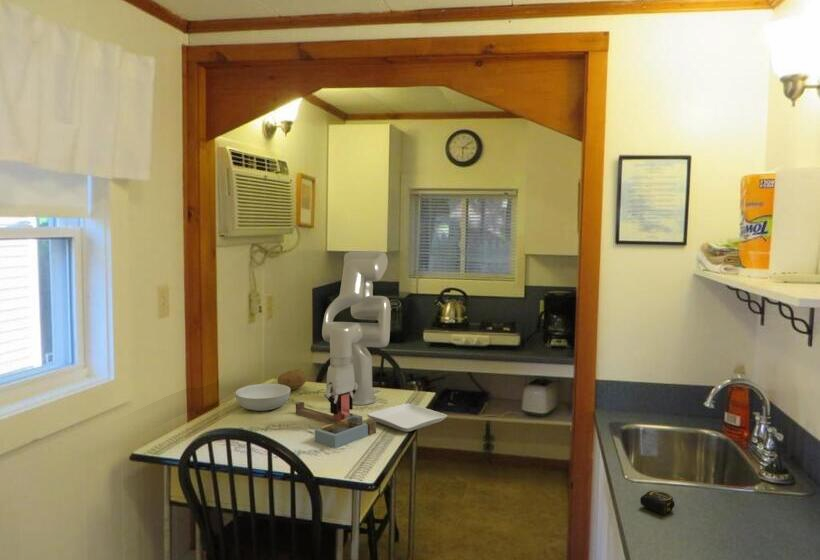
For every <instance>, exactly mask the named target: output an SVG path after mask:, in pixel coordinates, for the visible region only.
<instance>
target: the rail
mask: <svg viewBox="0 0 820 560" xmlns="http://www.w3.org/2000/svg"><path fill="white" fill-rule="evenodd" d="M295 415H299V416H301V417H306V418H309V419H312V420H316V421H319V422H323V423H326V424H328V425H329V424H332V423H335V422H338V420H335V419H333V414H330V413H329V414H328V413H326V412H323V411H318V410H316V409H315V410H314V409H310V408H308V407H305V402H304V401H299V402H296V403H295ZM362 424H363V422H362V423H361V424H358V425H356V424H353V423H349V429H351V428H354V427H356V426H359V425H362ZM366 424H368V436H372V435H375V434H376V433H377V422H376V421H374V420H370V421H368V422H366Z"/></svg>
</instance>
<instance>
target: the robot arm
mask: <svg viewBox="0 0 820 560" xmlns="http://www.w3.org/2000/svg"><path fill="white" fill-rule="evenodd" d="M343 262H344V265H343V270H342V276H341V282H340V284H341V285H340V288H339V289H340V290H339V295H338V296H337V297H336V298H335V299H334V300H333V301H332V302H330V304H329V305H328V306H327V308H326V309H325V310H326V311H325V313H324V317H323V322H322V328H321V336H322V338H323V340H324V342H327V343H329V352H330V353H329V363H330V364H329V365H328V368H327V373H326V383H325V385H326V388H325V391H324V393H323V396H324V397H325V398H326V400H327V401H328V403H329V404H330V407H329V409H330V413H331V414H332V415H333V414H338V403H336V402H337V399H338V395H340V394H344V393H349V411H350V410H353V409H354V408H353V407H354V406H365V405H371V404H374V403H376V401H377V396H375V395H376V394H377V393H378V394H379V393H380V392H381V388H380V387H376V388H374V387H373V357H372V354H371V352H370V351H369V350H368V348H385V347H387V346H388V345H389V343H390V338H391V337H390V336H391V335H390V334H391V311H392V309H391V308H392V307H391V301H390V300H389V298H388V297H387V296H383V295H373V291H374V284H373V282H378V281H380V280H381V279H382V277H383V276H384V274H385V273H386V270H387V268H388V265H389V263H388V262H389V260H388V256H387V254H386V253H385V252H384V251H381V250H373V251H372V250H353V251H349V252H346V253H345V254H344V257H343ZM349 308H350V314H351V317H352V318H354V319H356V320H365V321H366V320H373V321H377V322H355V321H354V322H353V321H352V322H351V321H349V322H348V321H334V319H335V318H336V316H337V314H339V313H340V312H341V311H344V310H345V309H349ZM333 396H334V398H333Z"/></svg>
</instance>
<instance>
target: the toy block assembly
mask: <svg viewBox="0 0 820 560" xmlns="http://www.w3.org/2000/svg"><path fill="white" fill-rule="evenodd" d="M333 398H334V396H333ZM336 403H338V414H333V413H332V415H333V419H335V420H338V422H335V423H332V424H329V423H328V424H326V425H323V426H320V427H319V429H320V430H324V431H327V432H330V433H331V430H332V429H334V428H338V427H345V428H349V423H353V424H356V425H358V424H361V423H362V424H363V416H362V415H360V414H359V415H358V414H356V413H355V414H354V413H350V409H349V393H344V394H340V395H338V399H337V402H336Z"/></svg>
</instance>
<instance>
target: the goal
mask: <svg viewBox="0 0 820 560" xmlns="http://www.w3.org/2000/svg"><path fill="white" fill-rule="evenodd" d="M368 436H369V435H368V424H367V423H362V425H359V426H356V427H354V428H351V429H348V430H345V431H342V432H339V433H337V434H334V433H330V432H327V431H324V430H320V428H317V429H314V442H315V443H317V444H321V445H324V446H327V447H329V448H333V449H338V448H340V447H343V446H345V445H349V444H351V443H354V442H356V441H358V440H362V439H364V438H366V437H368Z"/></svg>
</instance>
